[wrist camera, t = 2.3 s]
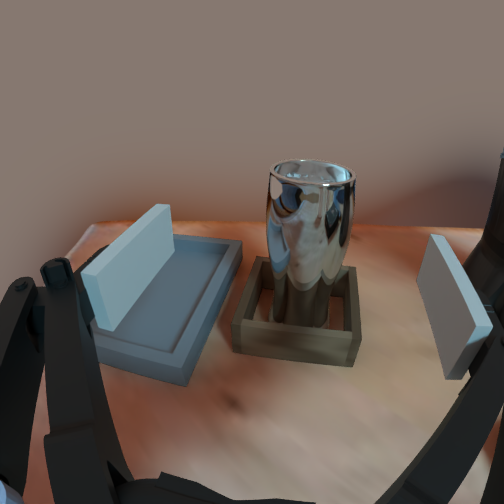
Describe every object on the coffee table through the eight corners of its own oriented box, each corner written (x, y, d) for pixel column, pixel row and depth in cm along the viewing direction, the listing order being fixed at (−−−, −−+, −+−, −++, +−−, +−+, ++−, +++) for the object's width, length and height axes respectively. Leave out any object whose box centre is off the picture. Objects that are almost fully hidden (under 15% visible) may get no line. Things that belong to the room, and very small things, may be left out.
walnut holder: (350, 293, 35) (355, 267, 33) (352, 367, 26) (361, 339, 24) (256, 282, 37) (256, 256, 35) (232, 351, 28) (230, 323, 26)
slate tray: (242, 258, 41) (242, 240, 40) (186, 386, 24) (181, 368, 23) (144, 246, 44) (141, 230, 42) (58, 347, 27) (49, 329, 26)
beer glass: (334, 302, 34) (355, 162, 26) (332, 350, 28) (364, 190, 20) (269, 294, 35) (274, 155, 27) (256, 340, 29) (258, 179, 21)
